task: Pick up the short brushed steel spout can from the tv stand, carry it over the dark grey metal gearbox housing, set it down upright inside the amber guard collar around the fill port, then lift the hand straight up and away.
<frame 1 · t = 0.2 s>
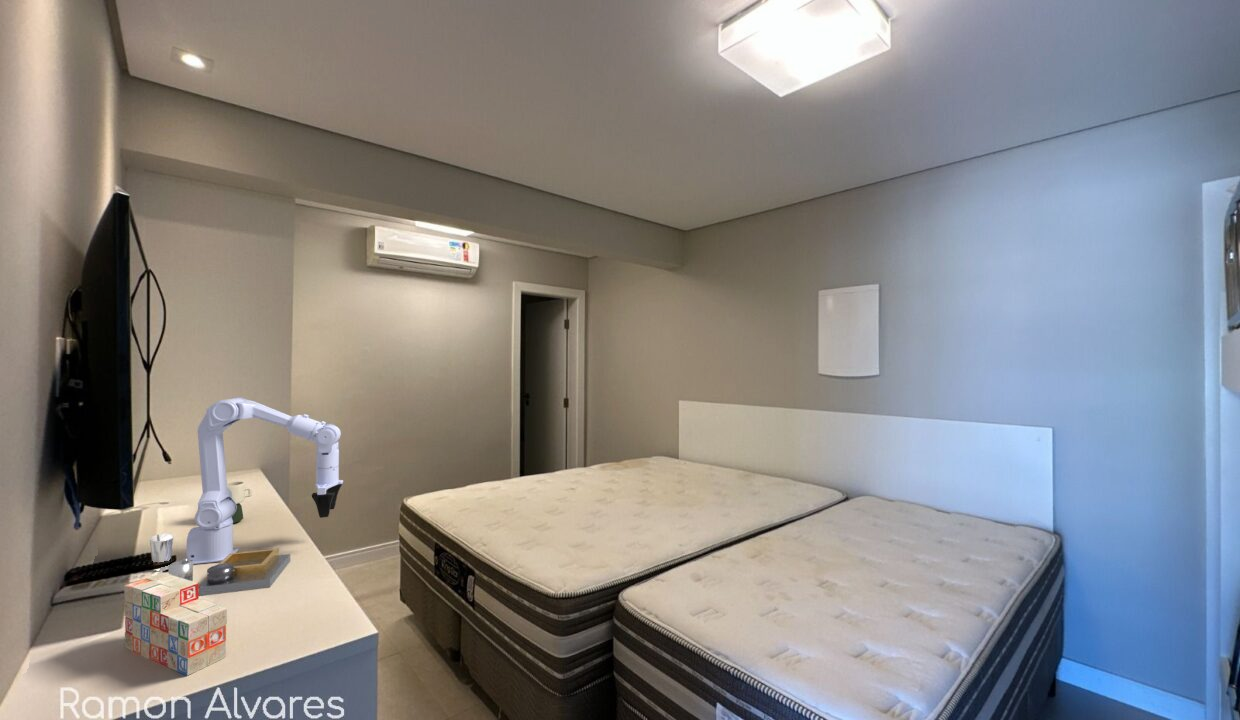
hand: (327, 513, 145), 10 cm above the tv stand, tool pointing down, fingers open, 7 cm apart
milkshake: (161, 570, 129), on the tv stand
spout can: (180, 588, 119), on the tv stand
gearbox: (248, 577, 125), on the tv stand
character mug: (231, 523, 165), on the tv stand
stack of blocks: (174, 653, 93), on the tv stand
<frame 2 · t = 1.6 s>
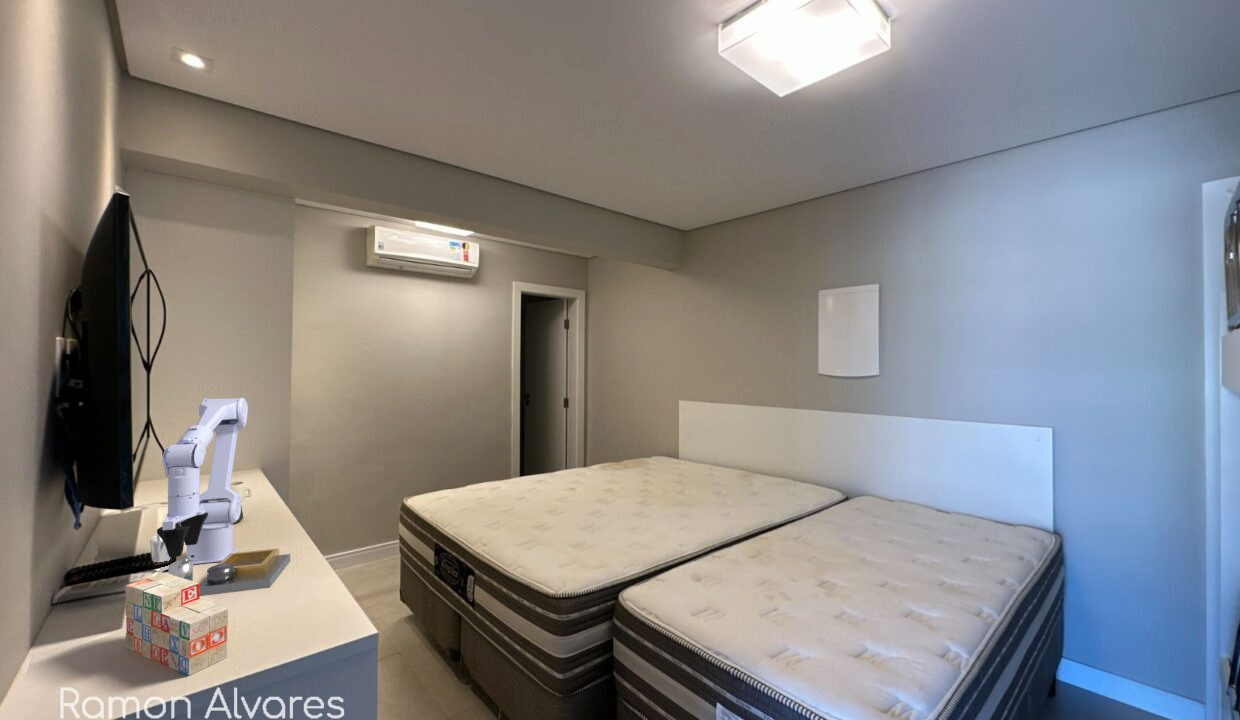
hand: (183, 550, 119), 9 cm above the tv stand, tool pointing down, fingers open, 7 cm apart
nothing on the tv stand moved.
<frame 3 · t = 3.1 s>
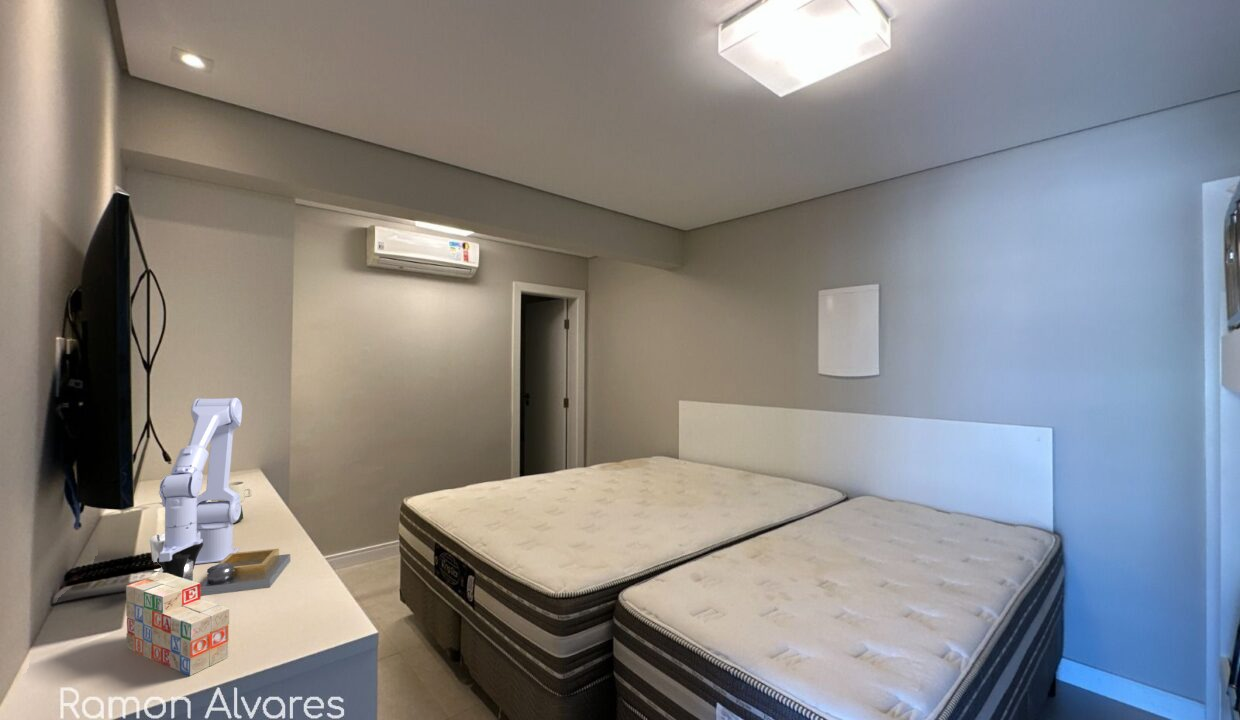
hand: (180, 580, 119), 2 cm above the tv stand, tool pointing down, fingers closed on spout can, 4 cm apart
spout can: (180, 588, 119), on the tv stand, touching gripper
everything else where it was.
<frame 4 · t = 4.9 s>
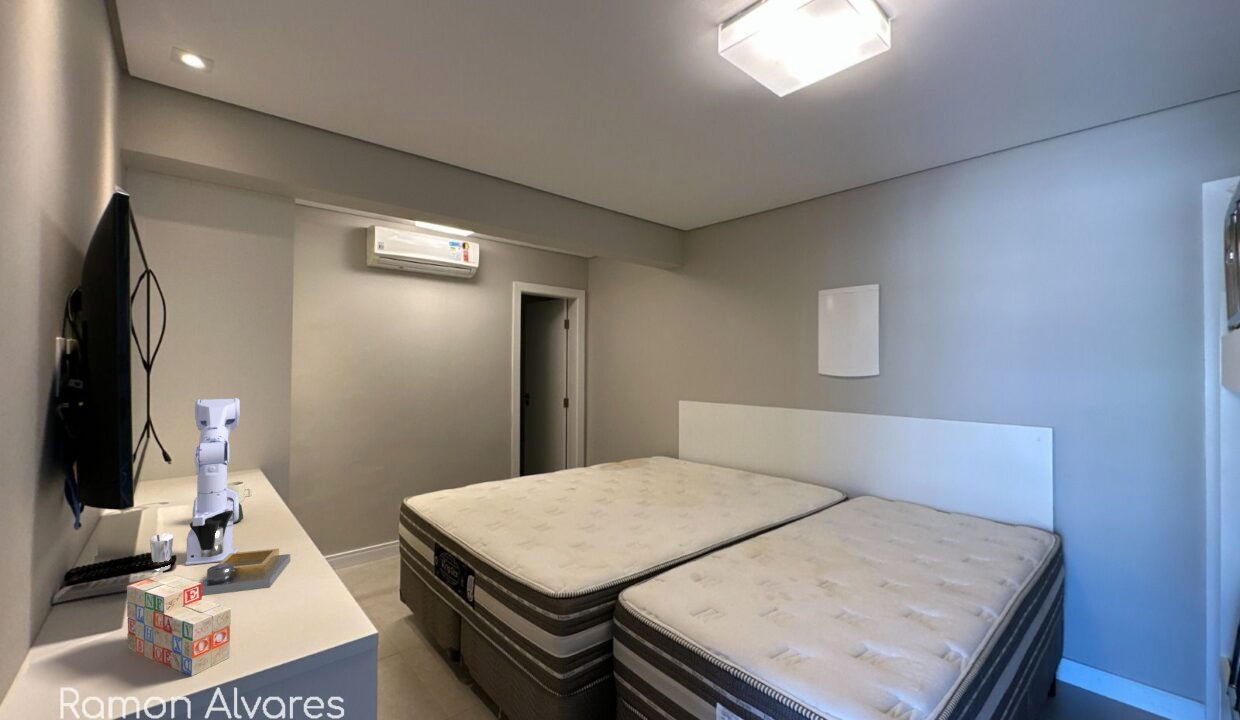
hand: (212, 545, 122), 9 cm above the tv stand, tool pointing down, fingers closed on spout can, 4 cm apart
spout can: (211, 553, 122), point 7 cm above the tv stand, touching gripper
everything else where it was.
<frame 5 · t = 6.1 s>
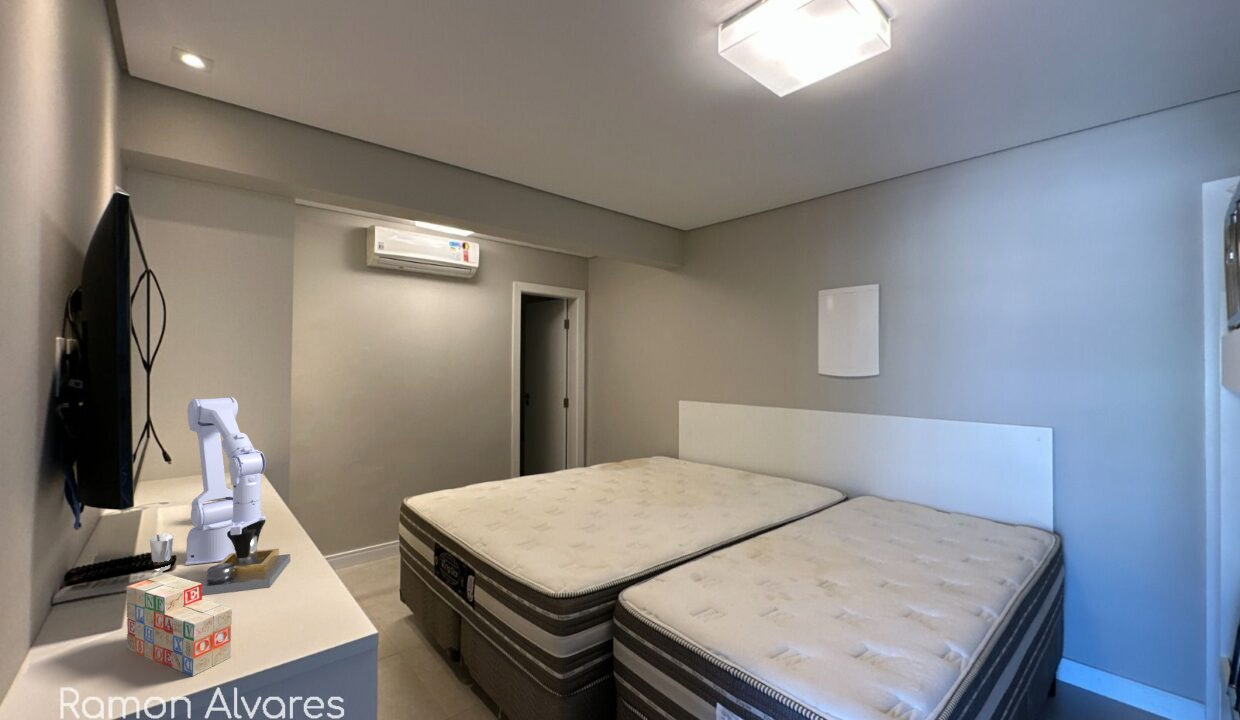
hand: (246, 553, 126), 5 cm above the tv stand, tool pointing down, fingers closed on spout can, 4 cm apart
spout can: (246, 561, 126), point 3 cm above the tv stand, touching gripper
everything else where it was.
when the fingers open (5 cm above the tv stand, at t = 7.0 s): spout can stays where it is, resting on gearbox.
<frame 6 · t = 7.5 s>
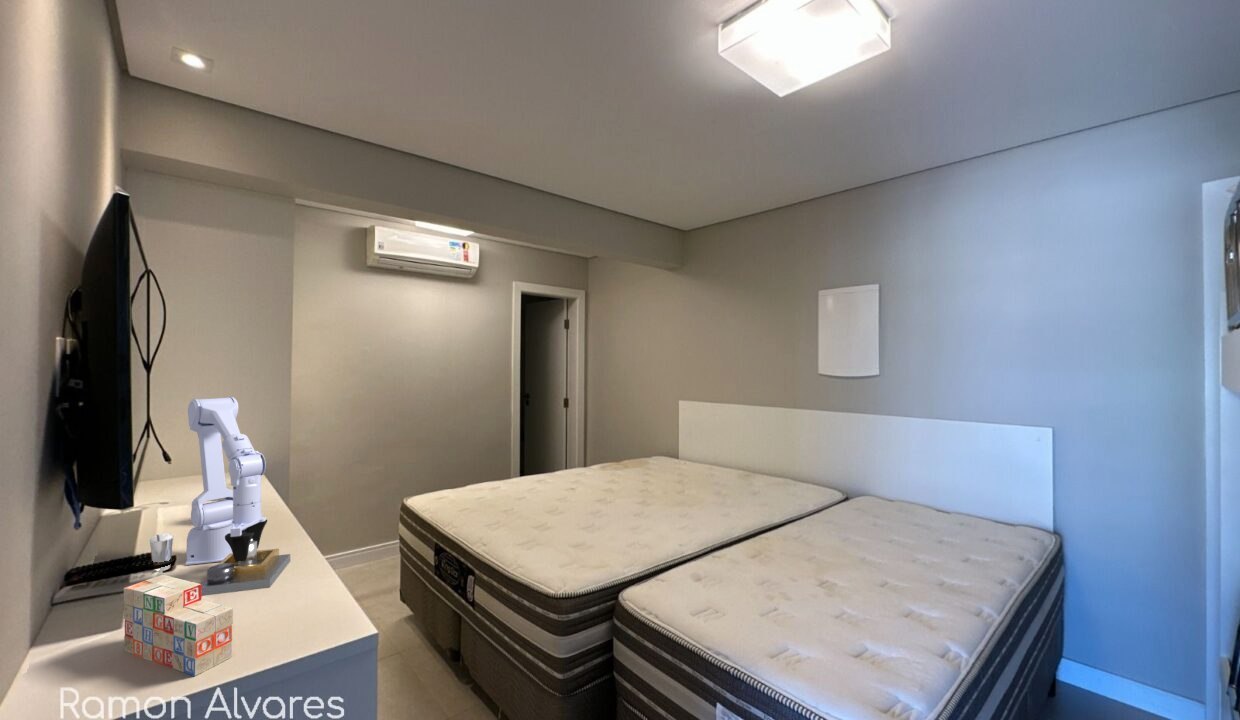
hand: (246, 555, 126), 5 cm above the tv stand, tool pointing down, fingers open, 7 cm apart
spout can: (246, 566, 126), point 2 cm above the tv stand, touching gearbox
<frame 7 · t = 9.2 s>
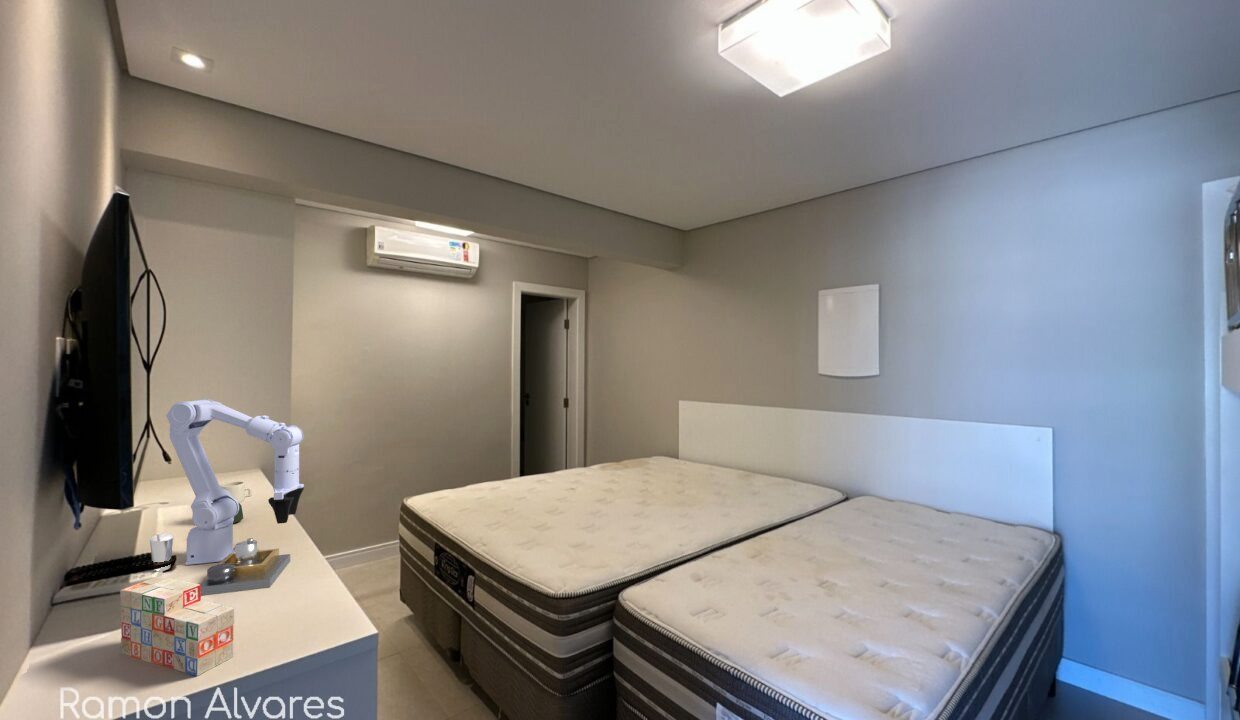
hand: (286, 518, 138), 10 cm above the tv stand, tool pointing down, fingers open, 7 cm apart
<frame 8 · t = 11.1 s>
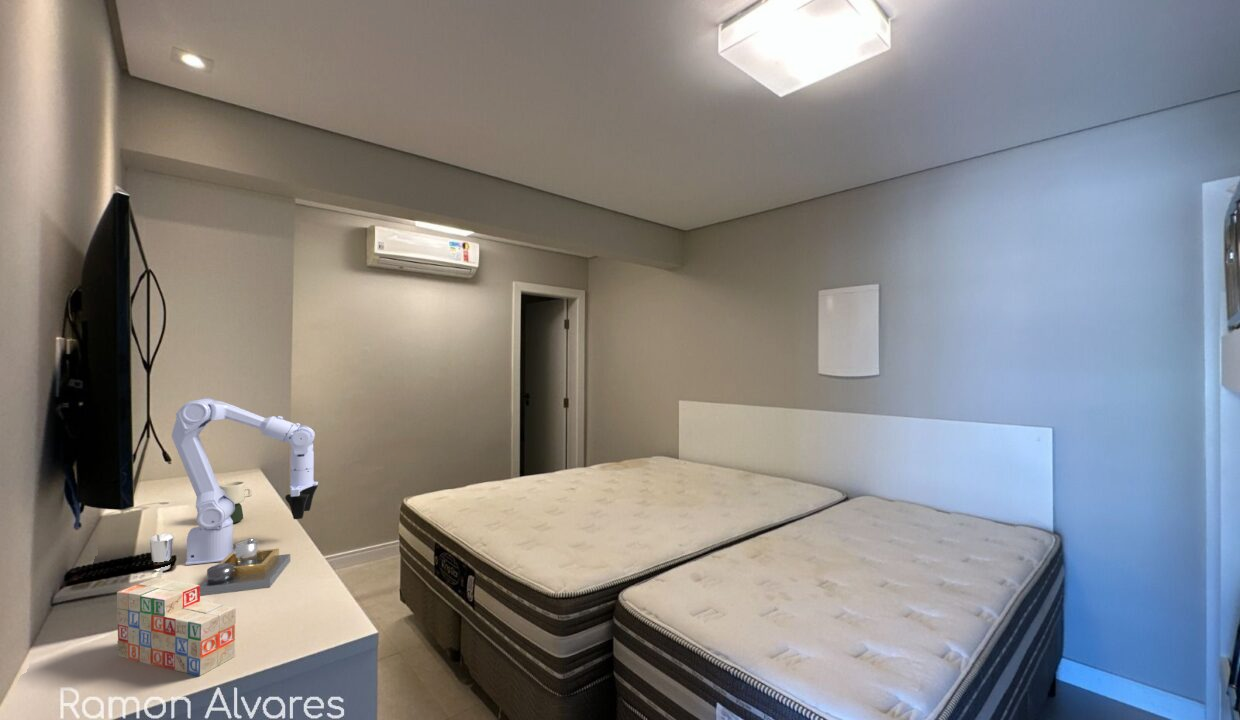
hand: (301, 514, 145), 9 cm above the tv stand, tool pointing down, fingers open, 7 cm apart
at the end: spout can 0.1 cm from the target spot, point 2.0 cm above the tv stand; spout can tilted 1°; the gripper is holding nothing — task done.
